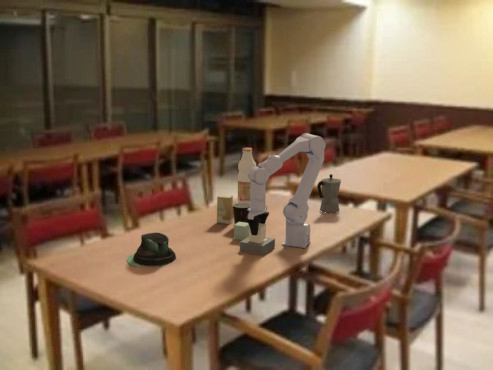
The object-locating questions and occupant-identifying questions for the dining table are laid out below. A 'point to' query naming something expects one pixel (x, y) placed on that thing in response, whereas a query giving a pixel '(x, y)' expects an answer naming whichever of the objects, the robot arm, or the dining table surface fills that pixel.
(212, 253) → the dining table surface
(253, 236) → the cream block
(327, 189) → the coffeepot
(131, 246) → the dining table surface
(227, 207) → the skincare box
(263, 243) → the charcoal base block
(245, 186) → the fruit juice
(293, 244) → the robot arm
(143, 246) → the dark fedora hat
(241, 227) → the sage green block
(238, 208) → the coffee mug
